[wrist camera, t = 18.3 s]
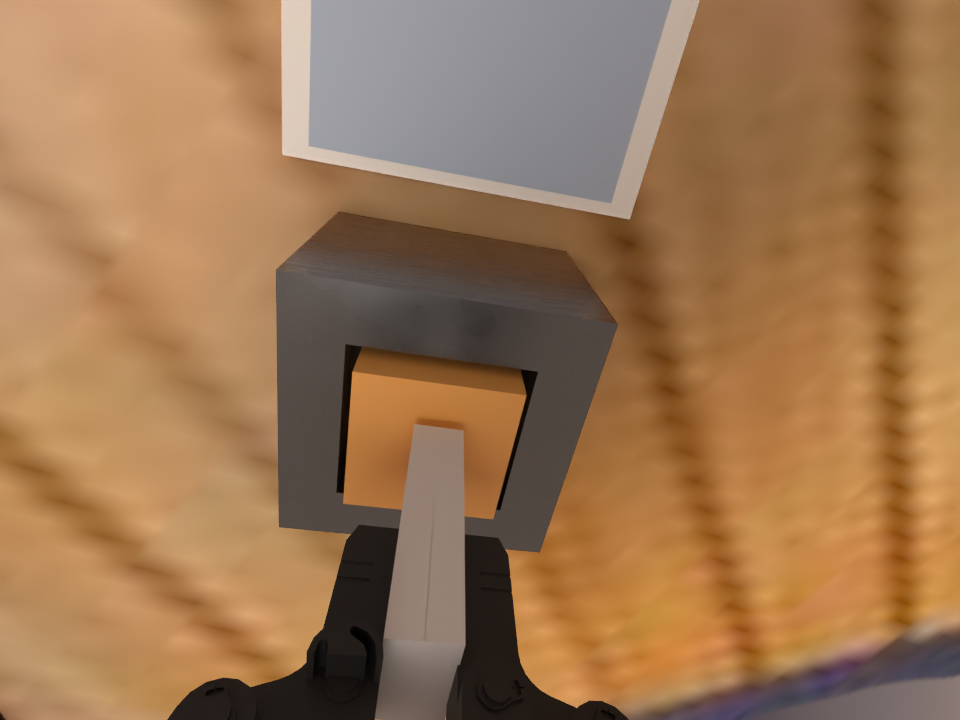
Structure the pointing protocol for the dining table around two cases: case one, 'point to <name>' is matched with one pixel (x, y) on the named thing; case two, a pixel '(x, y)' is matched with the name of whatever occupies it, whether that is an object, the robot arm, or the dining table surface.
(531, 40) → the picture board
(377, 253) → the button base
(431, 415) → the button
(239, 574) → the dining table surface
